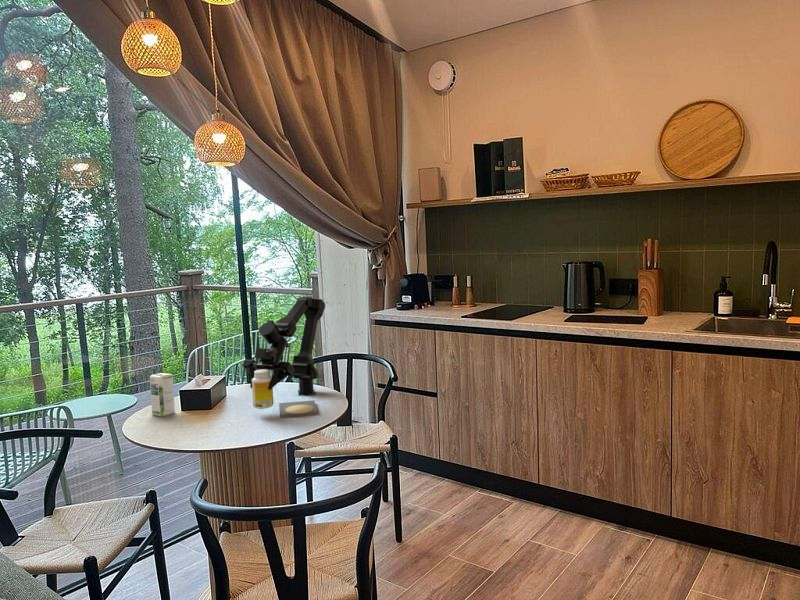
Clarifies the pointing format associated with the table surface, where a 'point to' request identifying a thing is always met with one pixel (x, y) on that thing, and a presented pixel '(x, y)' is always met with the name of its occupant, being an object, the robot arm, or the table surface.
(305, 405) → the plate
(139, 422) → the table surface
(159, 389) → the syrup box
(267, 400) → the supplement bottle
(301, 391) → the robot arm
